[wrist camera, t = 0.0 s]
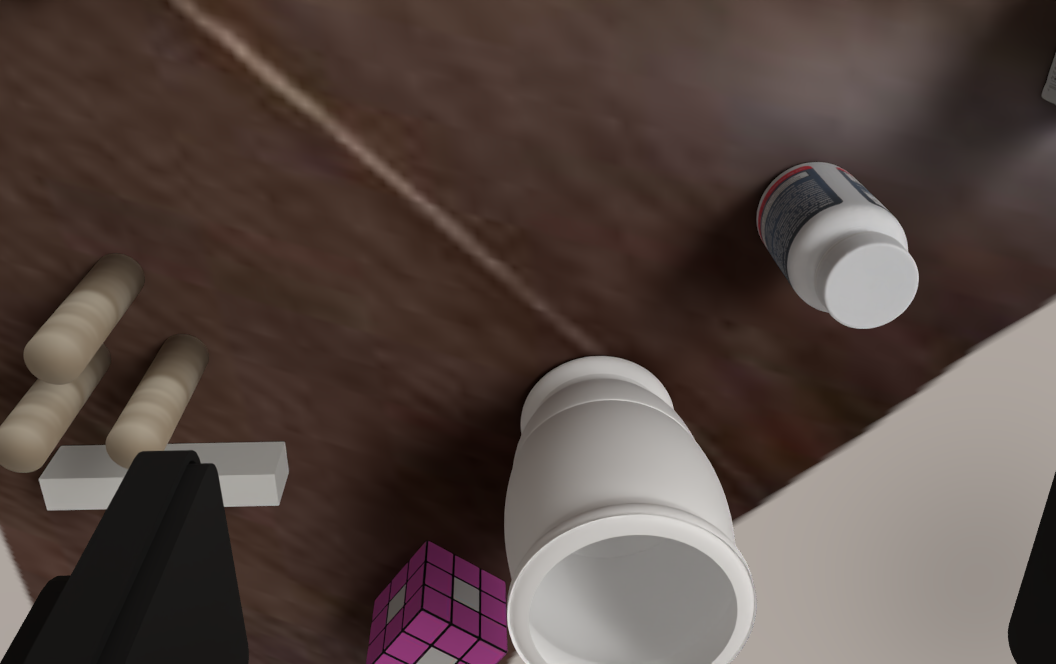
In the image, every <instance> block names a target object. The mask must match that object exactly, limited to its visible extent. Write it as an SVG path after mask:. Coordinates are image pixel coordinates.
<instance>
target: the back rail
mask: <svg viewBox="0 0 1056 664" xmlns="http://www.w3.org/2000/svg"><path fill="white" fill-rule="evenodd" d="M174 450H193V451H195V452H196V453H197V454H198V456H199V458H200V462H201V463H213V464H214V465H215V466H216V468H217V471H218V475H219V481H220V487H221V492H222V498H223V504H224V507H232V506H279V504H280V500H281V497H282V494H283V490H284V487H285V483H286V480H287V477H288V473H289V469H288V461H287V454H286V446H285V442H245V443H192V444H167V446H166V448H165V450H164V451H174ZM127 471H128V469H126V468H123V467H121V466H119V465H118V464H116V463H115V462H114V461H113V460H112V459H111V458H110V456H109V455H108V453H107V450H106V445H85V446H60V448H59V449H58V451H57V452H56V454H55V455H54V457H53V458H52V460H51V461H50V463H49V464H48V466H47V467H46V469H45V470H44V472H43V473H42V475H41V476H40V478H39V482H40V486H41V490H42V493H43V497H44V500H45V504H46V508H47V510H89V509H107V508H108V506H109V504H110V502H111V500H112V499H113V497H114V495H115V493H116V491H117V489H118V487H119V486H120V484H121V482H122V480H123V478H124V476H125V475H126V473H127Z"/></svg>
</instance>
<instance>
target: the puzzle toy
mask: <svg viewBox="0 0 1056 664" xmlns="http://www.w3.org/2000/svg"><path fill="white" fill-rule="evenodd" d="M506 628H507V622H506V584H505V582H504V581H502V580H501V579H499V578H497V577H495V576H493V575H491V574H489V573H488V572H486V571H484V570H481V569H479V568H478V567H476V566H475V565H473V564H471V563H469V562H467V561H465V560H463V559H462V558H460V557H458V556H455V555H453V554H452V553H450V552H449V551H447V550H445V549H443V548H441V547H439V546H437V545H436V544H434V543H432V542H430V541H426V542H425V543H424V544H423V545H422V546H421V547H420V549H419V550H418V551H417V552H416V553H415V554H414V556H413V557H412V558H411V559H410V561H409V562H408V563H407V564H406V565H405V566H404V567H403V568H402V569H401V571H400V572H399V573H398V574H397V575H396V576H395V578H394V579H393V580H392V582H391V583H389V584H388V586H387V587H386V588H385V589H384V590H383V591H382V593H381V594H380V595H379V596H378V597H377V598H376V600H375V603H374V610H373V618H372V625H371V632H370V639H369V647H368V653H367V660H366V664H497V663H498V662H499V661H500V660H501V659H502V658H503V657H504V656H505V655H506V654H507V630H506Z"/></svg>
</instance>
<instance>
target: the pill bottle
mask: <svg viewBox="0 0 1056 664" xmlns="http://www.w3.org/2000/svg"><path fill="white" fill-rule="evenodd" d="M756 220H757V229H758V233H759V235H760V238H761V240H762V242H763V243H764V245H765V247H766V248H767V250H768V251H769V253H770V254H771V256H772V257H773V259H774V260H775V262H776V263H777V265H778V266H779V268H780V269H781V271H782V272H783V274H784V275H785V277H786V279H787V280H788V282H789V283H790V285H791V286H792V288H793V289H794V291H795V292H796V293H797V294H798V295H799V297H800V298H801V299H802V300H803V301H805V302H806V303H807V304H809V305H810V306H812V307H814V308H816V309H818V310H821V311H824V312H828V313H830V315H831V316H832V317H833V318H834V319H835V320H837V321H838V322H839V323H841V324H843V325H845V326H848V327H851V328H857V329H868V328H874V327H878V326H881V325H884V324H886V323H888V322H890V321H892V320H894V319H895V318H897V317H898V316H899V315H900V314H901V313H903V312H904V311H905V310H906V308H907V307H908V306H909V305H910V303H911V302H912V300H913V298H914V296H915V294H916V291H917V288H918V280H919V275H918V269H917V266H916V263H915V261H914V260H913V258H912V256H911V255H910V254H909V253H908V244H907V239H906V236H905V233H904V231H903V229H902V227H901V225H900V223H899V222H898V221H897V219H896V218H895V217H894V216H893V215H892V214H891V213H890V212H889V211H888V210H887V209H886V208H885V207H884V206H883V205H882V204H881V203H880V202H879V201H878V200H877V199H876V198H875V197H874V196H873V195H872V194H871V193H870V192H869V191H868V190H867V189H866V188H865V187H864V186H863V185H862V184H861V183H860V182H858V181H857V180H856V179H855V178H854V177H853V176H852V175H851V174H850V173H848V172H847V171H846V170H844V169H842V168H840V167H838V166H836V165H833V164H829V163H824V162H811V163H804V164H800V165H797V166H794V167H792V168H790V169H788V170H786V171H784V172H783V173H781V174H780V175H779V176H778V177H776V178H775V179H774V180H773V181H772V182H771V183H770V185H769V186H768V187H767V189H766V190H765V192H764V194H763V195H762V197H761V200H760V202H759V205H758V209H757V217H756Z"/></svg>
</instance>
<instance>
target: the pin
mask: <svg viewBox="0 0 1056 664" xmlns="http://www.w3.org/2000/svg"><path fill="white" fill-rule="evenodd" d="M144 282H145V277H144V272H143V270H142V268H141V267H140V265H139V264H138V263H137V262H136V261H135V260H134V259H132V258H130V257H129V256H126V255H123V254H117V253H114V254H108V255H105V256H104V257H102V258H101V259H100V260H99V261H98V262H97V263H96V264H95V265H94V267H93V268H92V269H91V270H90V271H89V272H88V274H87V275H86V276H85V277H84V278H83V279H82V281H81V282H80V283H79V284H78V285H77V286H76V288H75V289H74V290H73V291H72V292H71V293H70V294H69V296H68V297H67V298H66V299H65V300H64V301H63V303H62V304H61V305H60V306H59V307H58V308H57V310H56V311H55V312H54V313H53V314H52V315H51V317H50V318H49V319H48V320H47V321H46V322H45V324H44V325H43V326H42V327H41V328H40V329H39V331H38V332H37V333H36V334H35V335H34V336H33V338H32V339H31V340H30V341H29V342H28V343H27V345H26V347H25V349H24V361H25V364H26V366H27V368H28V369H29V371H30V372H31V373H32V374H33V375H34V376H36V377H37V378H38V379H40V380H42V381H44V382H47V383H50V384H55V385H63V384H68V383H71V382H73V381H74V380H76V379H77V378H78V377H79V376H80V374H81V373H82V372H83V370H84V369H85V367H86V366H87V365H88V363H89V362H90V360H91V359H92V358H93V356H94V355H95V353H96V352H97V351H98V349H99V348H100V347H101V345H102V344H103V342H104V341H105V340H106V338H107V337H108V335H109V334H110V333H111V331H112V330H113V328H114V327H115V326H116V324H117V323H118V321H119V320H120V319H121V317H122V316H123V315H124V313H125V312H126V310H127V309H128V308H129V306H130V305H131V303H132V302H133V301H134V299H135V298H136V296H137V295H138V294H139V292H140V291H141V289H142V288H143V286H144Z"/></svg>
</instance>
